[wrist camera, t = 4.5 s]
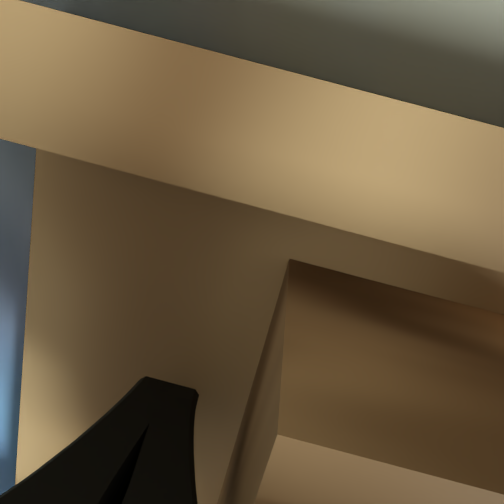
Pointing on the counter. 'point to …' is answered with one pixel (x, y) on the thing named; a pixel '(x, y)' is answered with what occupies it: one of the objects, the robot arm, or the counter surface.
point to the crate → (371, 399)
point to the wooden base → (214, 215)
